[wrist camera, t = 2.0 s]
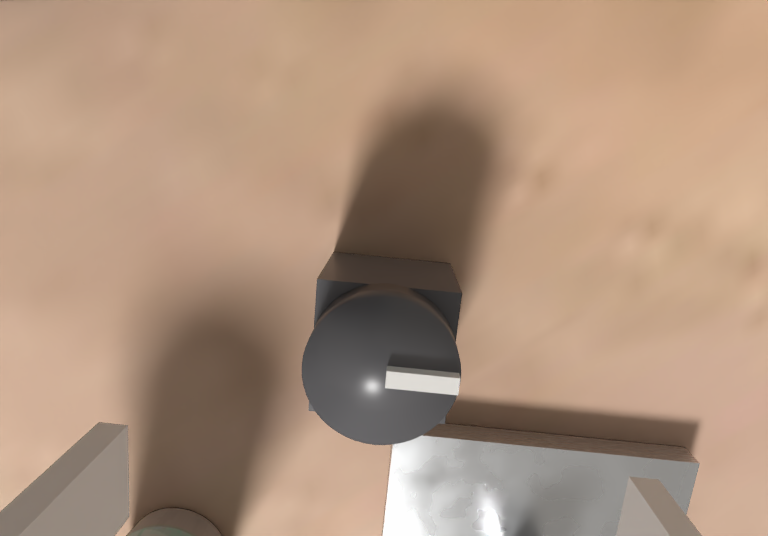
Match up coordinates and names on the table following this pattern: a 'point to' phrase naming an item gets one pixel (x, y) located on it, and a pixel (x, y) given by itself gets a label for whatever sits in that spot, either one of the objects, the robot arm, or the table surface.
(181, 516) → the coffee cup
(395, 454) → the grey square plate
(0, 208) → the table surface
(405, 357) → the knob
